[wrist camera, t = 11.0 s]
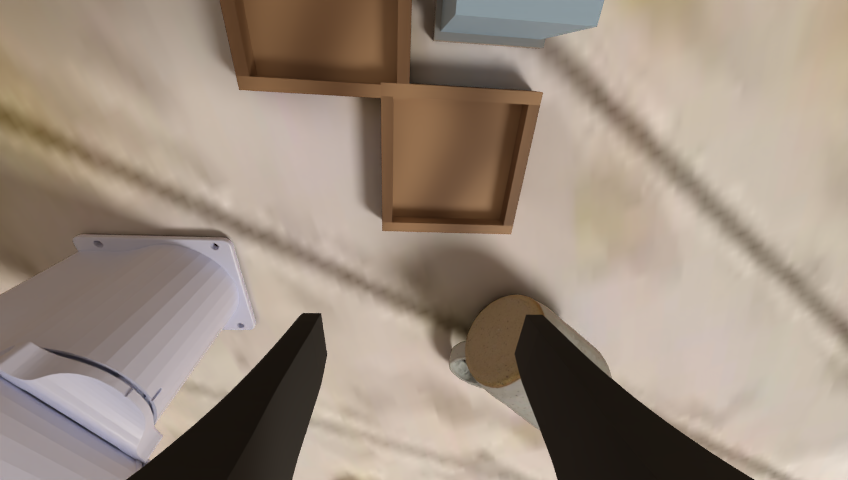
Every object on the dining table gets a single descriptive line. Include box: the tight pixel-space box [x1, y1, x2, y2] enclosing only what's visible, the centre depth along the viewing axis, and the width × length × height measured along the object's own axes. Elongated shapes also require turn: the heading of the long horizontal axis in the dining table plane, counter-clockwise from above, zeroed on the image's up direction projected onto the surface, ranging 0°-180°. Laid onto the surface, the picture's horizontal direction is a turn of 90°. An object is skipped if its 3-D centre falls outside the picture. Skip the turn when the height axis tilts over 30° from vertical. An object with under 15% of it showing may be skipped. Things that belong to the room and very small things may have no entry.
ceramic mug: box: [449, 295, 612, 430], centre depth 23 cm, size 11×8×8 cm
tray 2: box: [381, 82, 543, 234], centre depth 18 cm, size 8×8×1 cm
